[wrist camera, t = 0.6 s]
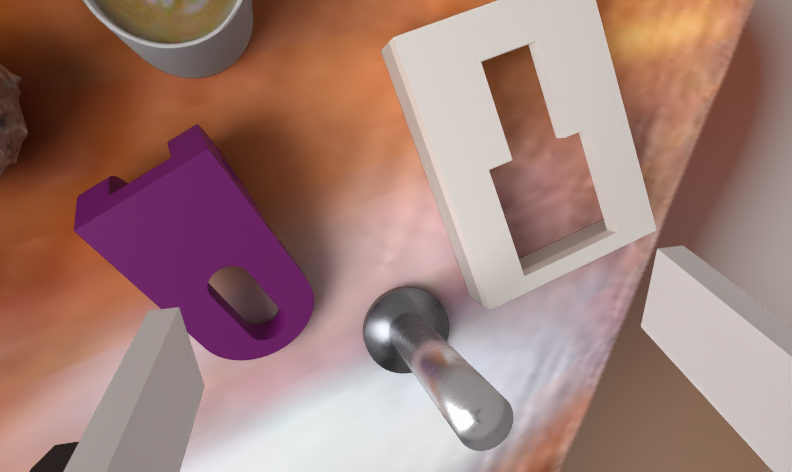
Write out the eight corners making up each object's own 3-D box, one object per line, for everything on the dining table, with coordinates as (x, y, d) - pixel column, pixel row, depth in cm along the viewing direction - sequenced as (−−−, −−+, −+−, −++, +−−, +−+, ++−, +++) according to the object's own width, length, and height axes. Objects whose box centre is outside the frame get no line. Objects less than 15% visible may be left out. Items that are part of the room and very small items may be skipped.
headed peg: (456, 346, 48) (561, 446, 31) (381, 383, 47) (447, 509, 29) (428, 272, 46) (523, 334, 29) (350, 308, 45) (400, 395, 28)
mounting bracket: (302, 263, 49) (190, 111, 38) (332, 314, 43) (208, 148, 32) (220, 318, 48) (78, 177, 37) (238, 378, 42) (73, 230, 30)
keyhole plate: (623, 225, 51) (656, 230, 47) (470, 297, 48) (490, 310, 43) (557, -13, 46) (587, -32, 42) (380, 50, 43) (393, 37, 38)
